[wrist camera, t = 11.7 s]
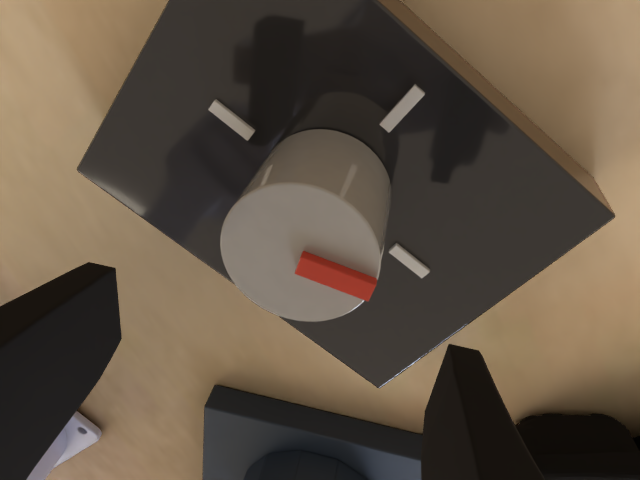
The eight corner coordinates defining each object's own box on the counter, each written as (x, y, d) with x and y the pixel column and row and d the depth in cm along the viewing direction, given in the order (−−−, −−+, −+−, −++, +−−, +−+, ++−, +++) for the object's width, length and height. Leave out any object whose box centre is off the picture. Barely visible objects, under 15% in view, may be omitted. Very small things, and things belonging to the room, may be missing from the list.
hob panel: (114, 141, 20) (71, 172, 17) (267, -122, 15) (234, -128, 12) (385, 342, 22) (378, 393, 20) (594, 178, 17) (619, 220, 15)
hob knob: (246, 223, 17) (201, 296, 14) (279, 107, 15) (234, 162, 12) (363, 267, 17) (346, 351, 14) (413, 158, 15) (407, 228, 12)
